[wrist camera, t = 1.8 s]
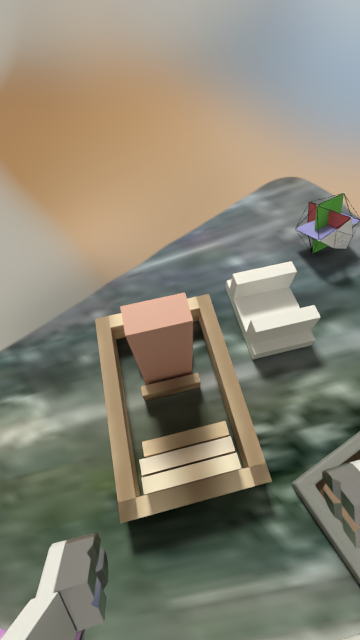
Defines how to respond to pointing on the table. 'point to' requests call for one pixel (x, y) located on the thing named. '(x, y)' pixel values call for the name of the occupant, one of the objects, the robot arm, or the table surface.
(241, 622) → the table surface
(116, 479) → the offcut rack
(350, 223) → the geometric puzzle
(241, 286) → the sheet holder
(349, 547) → the framed brown board
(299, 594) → the table surface
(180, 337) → the salmon pink brick
